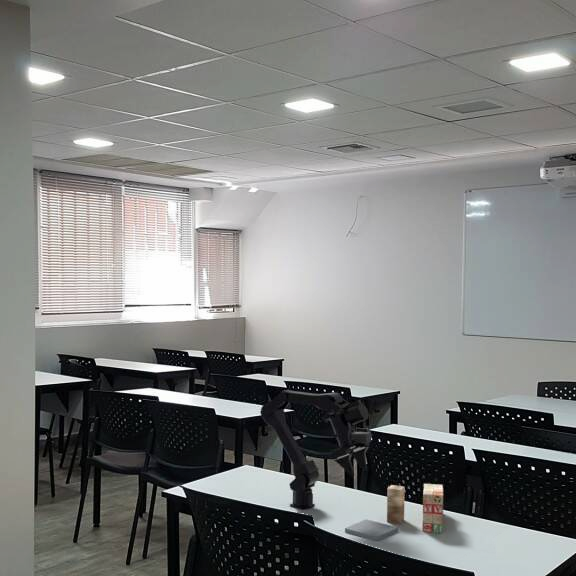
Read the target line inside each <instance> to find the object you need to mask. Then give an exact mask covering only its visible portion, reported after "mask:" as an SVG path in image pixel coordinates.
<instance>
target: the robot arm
mask: <svg viewBox="0 0 576 576" xmlns="http://www.w3.org/2000/svg"><path fill="white" fill-rule="evenodd" d="M290 403H292V404H300V405H307V406H313V407H316V408H318V409H320V410H322V411H325V412H326V413H325V416H324V418H323V421H324V422H325V421H330V424H331V426H332V428H333V432H334V434H333V438H334V439H336V440H337V442H338V445H339V446H338V447H337V448H336V449H333V450H331V451H330V452H329V457H330V460H331V461H334V462H336V464H338V465H339V466H340V467H341V468H342V469H343V470H344V471H345V472H347V474H348V475H349V476H351V477H354V476H355V472H354V468H353V463H352V458H354V460H355V461H356V463H357V464H358V465H359V467H360V469H362V470H363V472H364V471H367V459H366V456H367V455H366V453H367V451H368V449H369V446H370V443H371V439H372V437H373V434H372V431H371V430H370V429H369V428H368V427H366V428H362V429H361V431H356V429H355V427H351V425H356V424H359V423H361V422H363V421H365V420H368V419H369V414H370V413H369V409H368V407H366V406H365V403H364V404H363V403H362V401H361V400H360V399H359V400H356V401H354V402H352V403H350V402H348V401H346V400H345V399H344V398H343V396H342V395H341V394H340V393H339V392H328V393H311V392H303V391H295V390H290V389H287V390H282V391H280V392H279V393H278V394H277V396H275V397H274V398H272V399H271V400H270V401H268V403H266V404H265V403H264V404H263V405H262V406H261V408H260V416H261V417H262V419H263V421H264V422H265V423H266V424H267V425H268V426H270V427H271V428H272V429H273V430H274V432H275V434H276V435H277V437H278V439H279V441H280V443H281V445H282V446H283V448H284V450H285V452H286V454H287V456H288V458H289V460H290V461H291V463H292V466H293V467H292V468H293V475H294V479H293V480H291V482H289V488H290V490H291V491H292V503H290V504H289V506H290V507H292V508H297V509H301V510H306V509H308V508H313V507H314V506H316V504H315V503H314V494H313V488H314V487H315V485H316V483H318V481H319V477H320V472H319V471H320V470H319V468H318V467H317V465H316V462H315V460H313V459H311V460H308V459H307V458H306V457H305V455H304V453H303V452H302V449H301V448H300V446H299V443H298V442H297V440H296V438H295V436H294V434H293V433H292V431H291V430H290V427H289V426H288V424H287V421H286V418H287V417H286V412H285V410H286V409H287V408H288V405H290ZM333 411H334V412H333ZM352 456H353V457H352Z"/></svg>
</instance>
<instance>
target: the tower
mask: <svg viewBox="0 0 576 576" xmlns="http://www.w3.org/2000/svg"><path fill="white" fill-rule="evenodd" d="M386 490H387V497H386V502H387V503H386V506H387V507H386V522H387V523H393V524H399V525H401V524H402V523H403V522H404V521H405V496H406V495H405V492H406V491H405V486H402V485H401V486H400V485H394V484H391V485H390V486H388V487H387V488H386Z"/></svg>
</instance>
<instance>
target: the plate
mask: <svg viewBox="0 0 576 576" xmlns="http://www.w3.org/2000/svg"><path fill="white" fill-rule="evenodd" d="M344 532H345V533H347V534H351V535H355V536H359V537H361V538H366V539H370V540H372V541H381V540H382V539H385V538H386V537H389V536H391V535H393V534H395V533H397V532H399V527H398V526H395V525H390V524H386V523H382V522H379V521H374V520H370V519H366V518H365V519H364V520H361V521H358V522H356V523H354V524H352V525H349V526H346V527H345V528H344Z"/></svg>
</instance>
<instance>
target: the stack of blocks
mask: <svg viewBox="0 0 576 576" xmlns="http://www.w3.org/2000/svg"><path fill="white" fill-rule="evenodd" d="M422 492H423V493H422V532H424V533H435V534H443V526H444V525H443V523H444V515H443V514H444V487H443V484H435V483H433V484H432V483H423V491H422Z"/></svg>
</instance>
